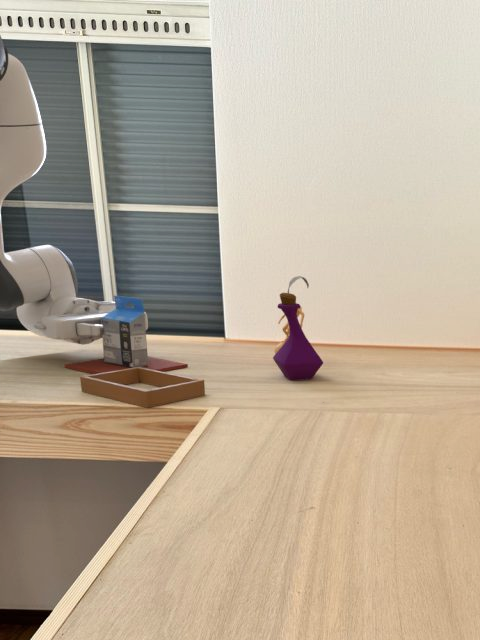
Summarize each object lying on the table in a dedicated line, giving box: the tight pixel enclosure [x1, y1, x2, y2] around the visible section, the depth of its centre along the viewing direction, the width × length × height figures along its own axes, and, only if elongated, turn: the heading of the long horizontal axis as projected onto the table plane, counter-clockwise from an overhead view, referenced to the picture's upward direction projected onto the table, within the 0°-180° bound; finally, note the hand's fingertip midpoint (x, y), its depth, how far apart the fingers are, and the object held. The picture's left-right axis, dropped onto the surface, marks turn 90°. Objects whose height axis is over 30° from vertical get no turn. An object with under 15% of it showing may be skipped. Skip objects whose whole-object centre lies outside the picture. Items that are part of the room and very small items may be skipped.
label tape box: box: [101, 295, 149, 367], centre depth 137 cm, size 9×4×12 cm, turn 55°
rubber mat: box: [64, 356, 189, 375], centre depth 139 cm, size 16×16×1 cm
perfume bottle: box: [272, 275, 324, 381], centre depth 132 cm, size 8×8×18 cm
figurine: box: [274, 305, 305, 355], centre depth 148 cm, size 8×6×12 cm
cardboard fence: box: [79, 367, 206, 409], centre depth 119 cm, size 12×17×2 cm
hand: (122, 328), depth 136 cm, fingers open, 8 cm apart
